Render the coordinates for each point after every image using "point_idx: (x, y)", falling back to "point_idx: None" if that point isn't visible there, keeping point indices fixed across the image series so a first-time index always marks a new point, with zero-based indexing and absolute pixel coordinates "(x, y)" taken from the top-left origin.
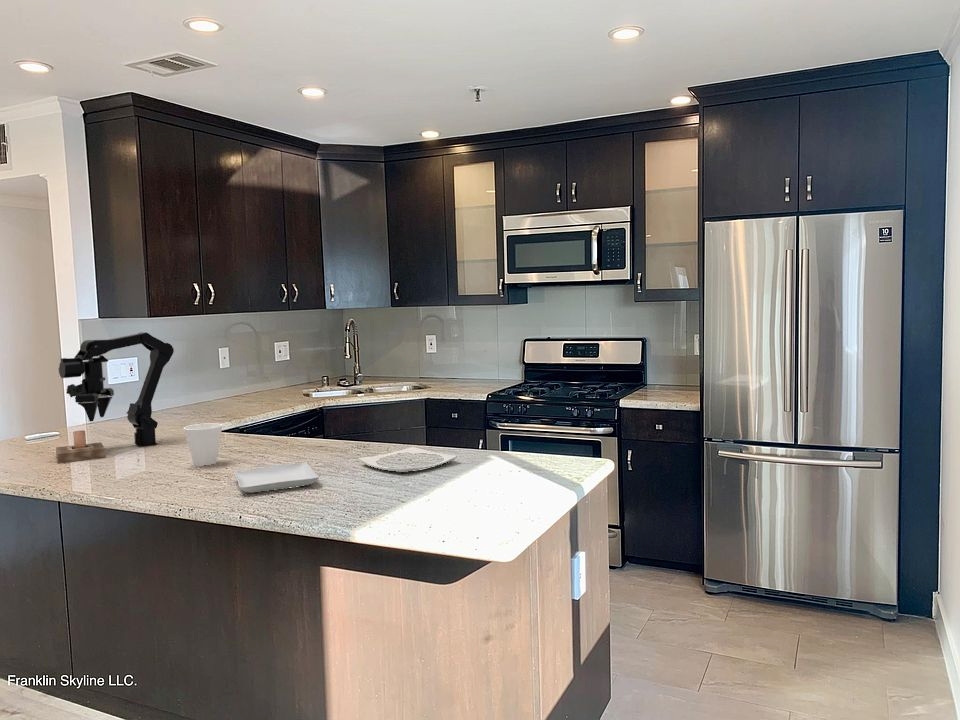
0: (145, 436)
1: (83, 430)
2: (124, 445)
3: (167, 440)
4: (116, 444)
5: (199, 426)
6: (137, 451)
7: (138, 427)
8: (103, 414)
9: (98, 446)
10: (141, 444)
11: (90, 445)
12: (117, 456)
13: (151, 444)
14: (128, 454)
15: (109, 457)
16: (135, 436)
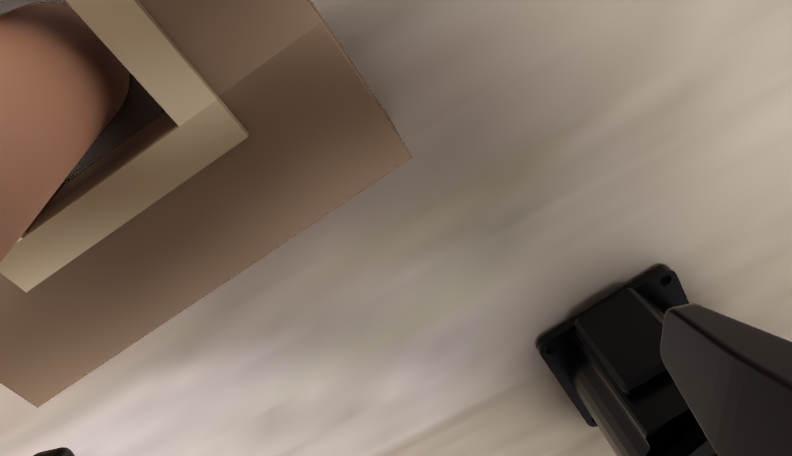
0: (603, 430)
1: (13, 225)
2: (643, 188)
3: None
4: (728, 76)
5: None
6: (344, 429)
7: (699, 437)
8: (691, 407)
9: (143, 279)
10: (567, 356)
11: (142, 183)
12: (139, 400)
13: (574, 404)
14: (226, 432)
15: None
16: (609, 369)
